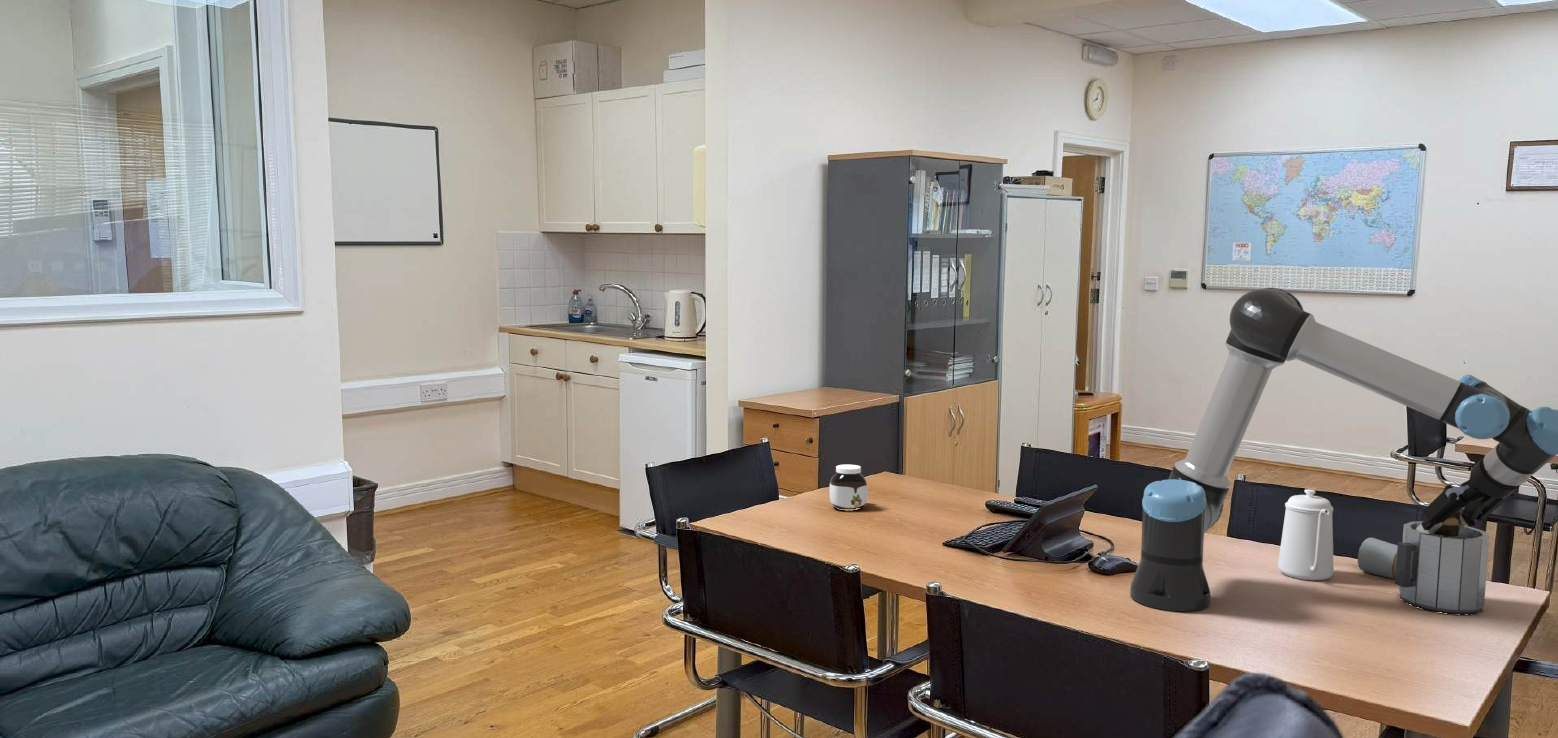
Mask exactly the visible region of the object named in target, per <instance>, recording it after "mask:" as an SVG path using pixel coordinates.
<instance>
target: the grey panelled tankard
mask: <svg viewBox="0 0 1558 738" xmlns="http://www.w3.org/2000/svg"><path fill="white" fill-rule="evenodd" d="M1423 521H1424V520H1423ZM1423 521H1421V520H1420V521H1410V522H1407V523H1404V524H1403V529H1402V530H1403V531H1402V542H1397V545H1398V548H1397V563H1396V578H1395V579H1394V580H1395V581H1394V583H1395V585H1397V586H1398V587H1399V590H1398V592H1399V600H1400V599H1402V600H1403V601H1404V602H1405V603H1404V602H1403V603H1404V604H1406V603H1408V604H1411V605H1412V606H1414V607H1413V608H1415V607H1419V608H1422V609H1424V610H1423V611H1426V610H1427V611H1426V612H1430V611H1431V613H1435V612H1442V613H1447V614H1446V615H1449V614H1460V615H1459V616H1466V615H1465V614H1468V615H1467V616H1472V615H1471V614H1475V615H1477V614H1476V613H1479V612H1481V613H1482V612H1483V609H1484V607H1485V598H1486V588H1487V587H1486V584H1487V573H1488V571H1487V570H1488V562H1489V561H1488V558H1489V545H1490V535H1489V533H1488V532H1486V531H1485V530H1480V529H1478V528H1475V527H1473V526H1469V525H1468V526H1467V525H1465V526H1464V527H1463V528H1461V529H1460V530H1459V536H1456V537H1442V536H1441V535H1437V534H1434V533H1433V534H1426V533H1422V532H1420V531H1417V530H1415V529H1416V528H1417V527H1418V526H1419V525H1420V524H1421V523H1422V522H1423ZM1408 604H1407V605H1408ZM1412 606H1411V607H1412ZM1422 609H1421V610H1422ZM1479 614H1480V613H1479Z"/></svg>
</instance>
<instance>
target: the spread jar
mask: <svg viewBox="0 0 1558 738" xmlns="http://www.w3.org/2000/svg"><path fill="white" fill-rule="evenodd" d="M828 491H829V493H828V494H829V495H828V496H829V502H830V504H831V506H832V507H833V508H834V507H835V508H839V509H856V508H861V509H863V508H864V507H865V506H866V504H867V502H868V501H867V500H868V495H869V489H868V483H867V480H866V478H865V476H864V475H863V474H862V466H860V465H859V464H858V465H857V464H849V463H848V464H839V465H836V466H835V473H834V474H833V476H831V478H830V481H829V490H828ZM835 508H834V509H835Z"/></svg>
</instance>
